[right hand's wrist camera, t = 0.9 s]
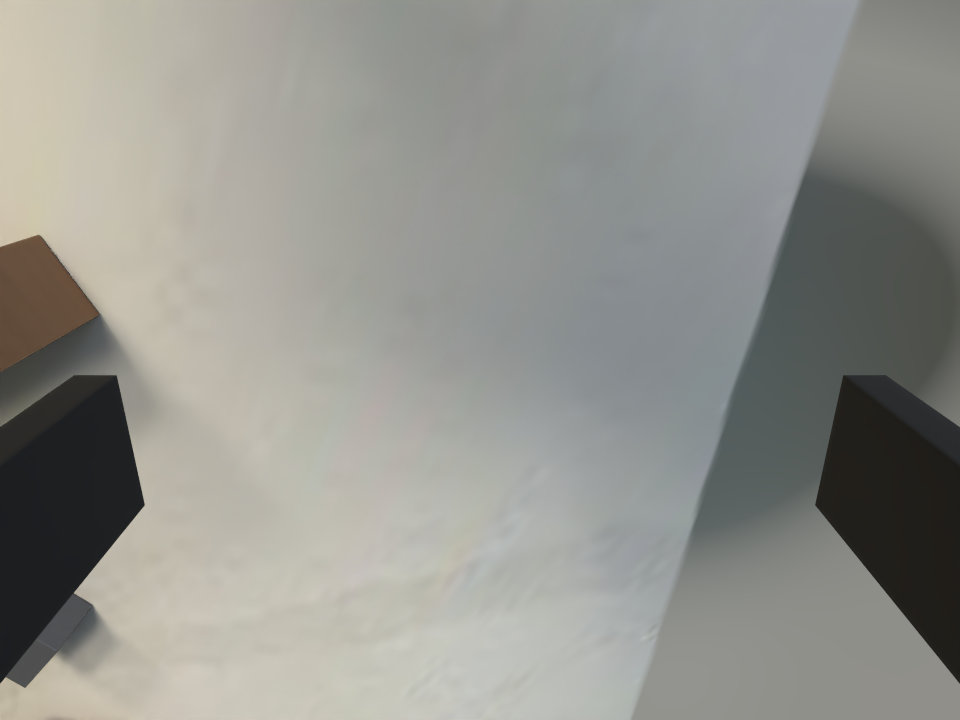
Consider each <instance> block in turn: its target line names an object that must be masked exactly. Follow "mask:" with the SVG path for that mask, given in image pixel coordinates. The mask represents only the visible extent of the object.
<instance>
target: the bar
mask: <svg viewBox="0 0 960 720" xmlns="http://www.w3.org/2000/svg"><path fill="white" fill-rule="evenodd" d="M97 316H99V313H98V312H97V310H96V309H95V308H94V306H93V305H92V304H91V303H90V301H89V300H88V299H87V297H86V296H85V295H84V293H83V292H82V291H81V289H80V288H79V287H78V285H77V284H76V283H75V282H74V280H73V279H72V278H71V276H70V275H69V274H68V272H67V271H66V270H65V268H64V267H63V266H62V264H61V263H60V262H59V261H58V259H57V258H56V257H55V255H54V254H53V253H52V251H51V250H50V249H49V247H48V246H47V245H46V243H45V242H44V241H43V240H42V238H41V237H40V236H39V235H37V236H33V237H30V238H27V239H24V240H21V241H18V242H15V243H11V244H8V245H5V246H2V247H0V372H2V371H3V370H5V369H7V368H9V367H10V366H12V365H14V364H16V363H17V362H19V361H21V360H23V359H24V358H26V357H28V356H29V355H31V354H33V353H35V352H36V351H38V350H40V349H42V348H43V347H45V346H47V345H48V344H50V343H52V342H54V341H55V340H57V339H59V338H61V337H62V336H64V335H66V334H68V333H69V332H71V331H73V330H74V329H76V328H78V327H80V326H81V325H83V324H85V323H87V322H88V321H90V320H92V319H94V318H95V317H97Z"/></svg>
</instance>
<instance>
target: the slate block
mask: <svg viewBox="0 0 960 720" xmlns="http://www.w3.org/2000/svg"><path fill="white" fill-rule="evenodd" d="M91 607H92V605H91V604H89V603H88V602H86V601H84V600H83V599H81V598H79V597H78V596H76V595H75V594H72V595H71V597H70V598H69V599H68V600H67V602H66V603H65V604H64V605H63V607H62V608H61V609H60V610H59V612H58V613H57V614H56V615H55V616H54V618H53V619H52V620H51V621H50V623H49V624H48V625H47V626H46V628H45V629H44V630H43V631H42V633H41V634H40V635H39V636H38V637H37V639H36V640H35V641H34V642H33V644H32V645H31V646H30V647H29V649H28V650H27V651H26V652H25V654H24V655H23V656H22V657H21V658H20V660H19V661H18V662H17V663H16V665H15V666H14V667H13V668H12V670H11V671H10V672H9V673H8V674H7V676H6V677H7V678H8V679H10V680H12V681H14V682H16V683H17V684H19V685H21V686H23V687H24V688H25V687H26V686H27V685H28V684H29V683H30V682H31V681H32V680H33V679H34V677H35V676H36V675H37V674H38V673H39V672H40V671H41V670H42V668H43V667H44V666H45V665H46V664H47V663H48V662H49V661H50V659H51V658H52V657H53V656H54V655H55V654H56V653H57V652H58V650H59V649H60V648H61V646H62V645H63V644H64V642H65V641H66V640H67V638H68V637H69V636H70V634H71V633H72V632H73V630H74V629H75V628H76V627H77V625H78V624H79V623H80V621H81V620H82V619H83V617H84V616H85V615H86V613H87V612H88V611H89V609H90V608H91Z"/></svg>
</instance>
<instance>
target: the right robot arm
mask: <svg viewBox="0 0 960 720" xmlns="http://www.w3.org/2000/svg"><path fill="white" fill-rule="evenodd" d="M144 505H145V504H144V499H143V495H142V490H141V486H140V481H139V476H138V472H137V467H136V463H135V458H134V453H133V449H132V444H131V440H130V435H129V430H128V426H127V421H126V416H125V412H124V407H123V403H122V398H121V393H120V389H119V384H118V380H117V375H74V376H73V377H71V378H70V379H68V380H67V381H66V382H64V383H63V384H61V385H60V386H58V387H57V388H56V389H54V390H53V391H51V392H50V393H48V394H47V395H46V396H44V397H43V398H41V399H40V400H38V401H37V402H36V403H34V404H33V405H31V406H30V407H28V408H27V409H26V410H24V411H23V412H21V413H20V414H18V415H17V416H16V417H14V418H13V419H11V420H10V421H8V422H7V423H6V424H4V425H3V426H1V427H0V683H1V682H2V681H3V679H4V678H5V677H6V676H7V674H8V673H9V672H10V671H11V670H12V668H13V667H14V666H15V665H16V663H17V662H18V661H19V660H20V658H21V657H22V656H23V655H24V654H25V652H26V651H27V650H28V649H29V647H30V646H31V645H32V644H33V642H34V641H35V640H36V639H37V637H38V636H39V635H40V634H41V633H42V631H43V630H44V629H45V628H46V626H47V625H48V624H49V623H50V621H51V620H52V619H53V618H54V616H55V615H56V614H57V613H58V612H59V610H60V609H61V608H62V607H63V605H64V604H65V603H66V602H67V600H68V599H69V598H70V597H71V595H72V594H73V593H74V592H75V591H76V589H77V588H78V587H79V586H80V584H81V583H82V582H83V581H84V579H85V578H86V577H87V576H88V574H89V573H90V572H91V571H92V570H93V568H94V567H95V566H96V565H97V563H98V562H99V561H100V560H101V558H102V557H103V556H104V555H105V554H106V552H107V551H108V550H109V549H110V547H111V546H112V545H113V544H114V542H115V541H116V540H117V539H118V537H119V536H120V535H121V534H122V533H123V531H124V530H125V529H126V528H127V526H128V525H129V524H130V523H131V521H132V520H133V519H134V518H135V516H136V515H137V514H138V513H139V512H140V510H141V509H142V508H143V507H144ZM815 505H816V507H817V508H818V509H819V510H820V512H821V513H822V514H823V515H824V516H825V518H826V519H827V520H828V521H829V523H830V524H831V525H832V526H833V528H834V529H835V530H836V531H837V533H838V534H839V535H840V536H841V537H842V539H843V540H844V541H845V542H846V544H847V545H848V546H849V547H850V549H851V550H852V551H853V552H854V554H855V555H856V556H857V557H858V558H859V560H860V561H861V562H862V563H863V565H864V566H865V567H866V568H867V570H868V571H869V572H870V573H871V574H872V576H873V577H874V578H875V579H876V581H877V582H878V583H879V584H880V586H881V587H882V588H883V589H884V590H885V592H886V593H887V594H888V595H889V597H890V598H891V599H892V600H893V602H894V603H895V604H896V605H897V607H898V608H899V609H900V610H901V612H902V613H903V614H904V615H905V616H906V618H907V619H908V620H909V621H910V623H911V624H912V625H913V626H914V628H915V629H916V630H917V631H918V633H919V634H920V635H921V636H922V637H923V639H924V640H925V641H926V642H927V644H928V645H929V646H930V647H931V648H932V650H933V651H934V652H935V653H936V655H937V656H938V657H939V658H940V660H941V661H942V662H943V663H944V665H945V666H946V667H947V668H948V669H949V671H950V672H951V673H952V674H953V676H954V677H955V678H956V679H957V681H958V682H959V683H960V427H959V426H957V425H956V424H954V423H953V422H952V421H950V420H949V419H947V418H946V417H944V416H943V415H942V414H940V413H939V412H937V411H936V410H934V409H933V408H932V407H930V406H929V405H927V404H926V403H924V402H923V401H922V400H920V399H919V398H917V397H916V396H914V395H913V394H912V393H910V392H909V391H907V390H906V389H904V388H903V387H902V386H900V385H899V384H897V383H896V382H894V381H893V380H892V379H890V378H889V377H887V376H885V375H844V376H843V380H842V384H841V389H840V393H839V398H838V403H837V407H836V412H835V416H834V421H833V426H832V430H831V435H830V440H829V444H828V449H827V453H826V458H825V463H824V467H823V472H822V476H821V481H820V486H819V490H818V495H817V499H816V504H815Z"/></svg>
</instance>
